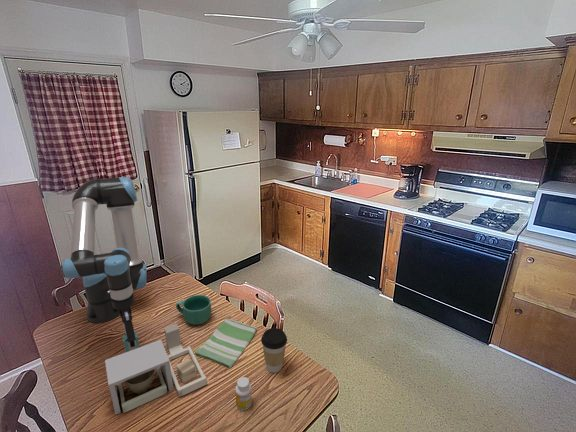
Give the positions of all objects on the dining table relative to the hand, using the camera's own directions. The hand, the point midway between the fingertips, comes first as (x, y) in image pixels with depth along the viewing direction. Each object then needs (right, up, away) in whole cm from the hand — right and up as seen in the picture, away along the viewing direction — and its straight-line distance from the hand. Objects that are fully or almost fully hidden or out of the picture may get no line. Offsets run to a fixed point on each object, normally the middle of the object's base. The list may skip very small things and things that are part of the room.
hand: (130, 341), depth 124 cm
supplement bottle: (+47, -15, -17) cm, 52 cm away
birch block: (+24, -10, -6) cm, 27 cm away
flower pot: (+10, -12, -12) cm, 20 cm away
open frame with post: (+21, -8, -2) cm, 23 cm away
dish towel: (+37, -5, +11) cm, 38 cm away
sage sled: (+6, -10, -7) cm, 13 cm away
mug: (+18, +1, +25) cm, 30 cm away
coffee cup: (+57, -9, -2) cm, 58 cm away
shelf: (+10, -12, -12) cm, 20 cm away
